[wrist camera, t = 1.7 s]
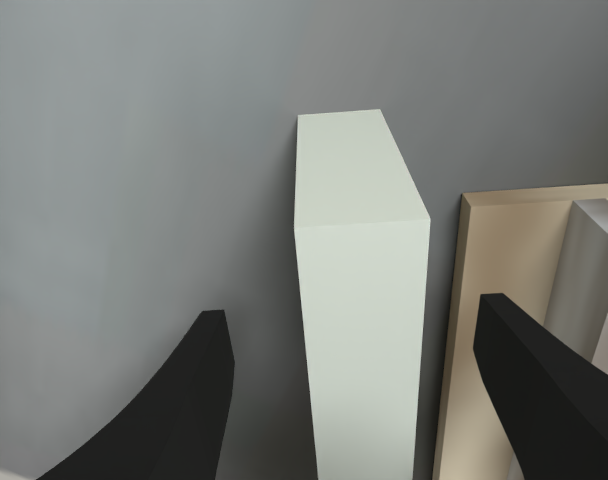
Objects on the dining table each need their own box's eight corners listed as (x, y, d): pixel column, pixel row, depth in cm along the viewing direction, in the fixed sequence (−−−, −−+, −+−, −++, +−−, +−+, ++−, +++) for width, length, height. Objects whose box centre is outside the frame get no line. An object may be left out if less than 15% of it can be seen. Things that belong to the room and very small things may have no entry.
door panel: (379, 108, 15) (430, 218, 9) (377, 349, 20) (409, 522, 14) (298, 114, 15) (293, 227, 9) (317, 352, 20) (322, 525, 14)
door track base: (836, 168, 16) (984, 230, 12) (642, 535, 27) (691, 620, 24) (462, 193, 16) (504, 259, 13) (425, 543, 28) (442, 628, 24)
